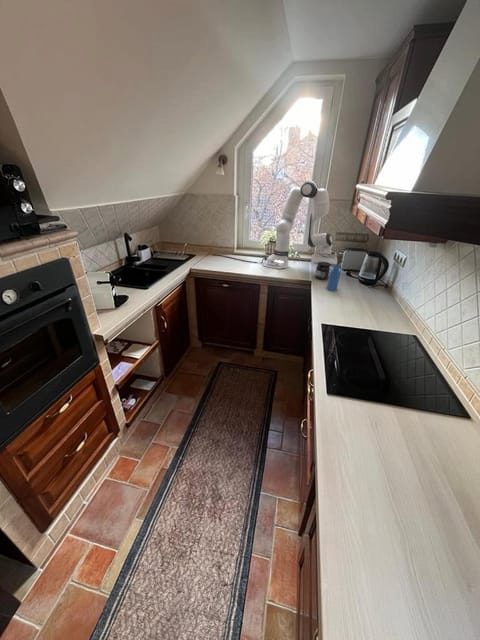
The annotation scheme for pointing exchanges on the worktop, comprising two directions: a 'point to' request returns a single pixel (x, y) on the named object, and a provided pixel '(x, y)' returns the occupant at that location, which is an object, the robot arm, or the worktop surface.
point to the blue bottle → (334, 278)
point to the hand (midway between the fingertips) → (322, 269)
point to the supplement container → (322, 270)
